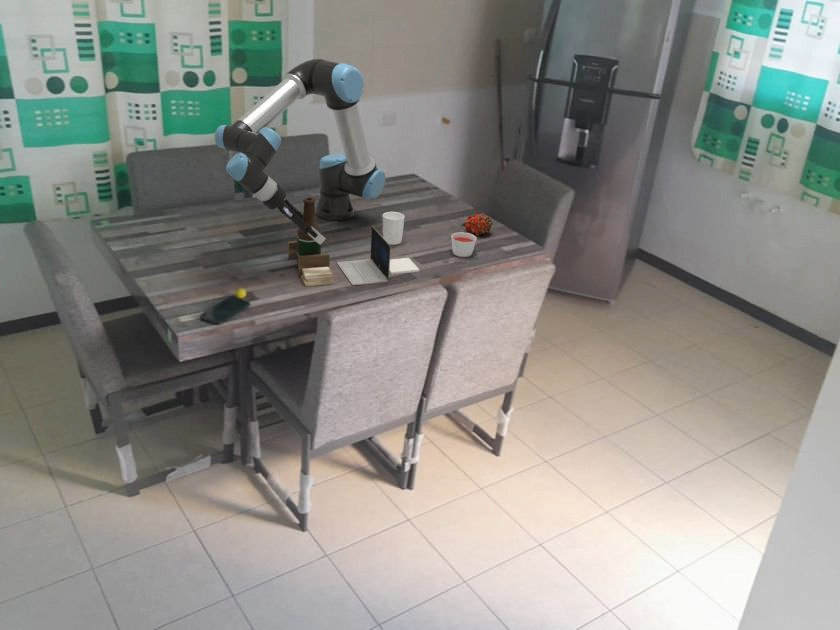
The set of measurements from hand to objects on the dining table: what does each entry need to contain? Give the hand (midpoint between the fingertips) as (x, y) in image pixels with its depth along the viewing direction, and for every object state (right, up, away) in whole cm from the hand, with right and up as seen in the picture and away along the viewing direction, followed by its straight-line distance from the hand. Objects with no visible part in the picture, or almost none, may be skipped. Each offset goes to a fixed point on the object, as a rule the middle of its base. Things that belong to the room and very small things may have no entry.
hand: (319, 236), depth 260 cm
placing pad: (+26, -9, +9) cm, 29 cm away
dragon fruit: (+55, +5, +40) cm, 68 cm away
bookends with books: (-3, -11, +1) cm, 11 cm away
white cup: (+23, +1, +28) cm, 36 cm away
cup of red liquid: (+48, -4, +23) cm, 54 cm away
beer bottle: (-4, -10, +4) cm, 11 cm away
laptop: (+14, -12, +3) cm, 19 cm away
